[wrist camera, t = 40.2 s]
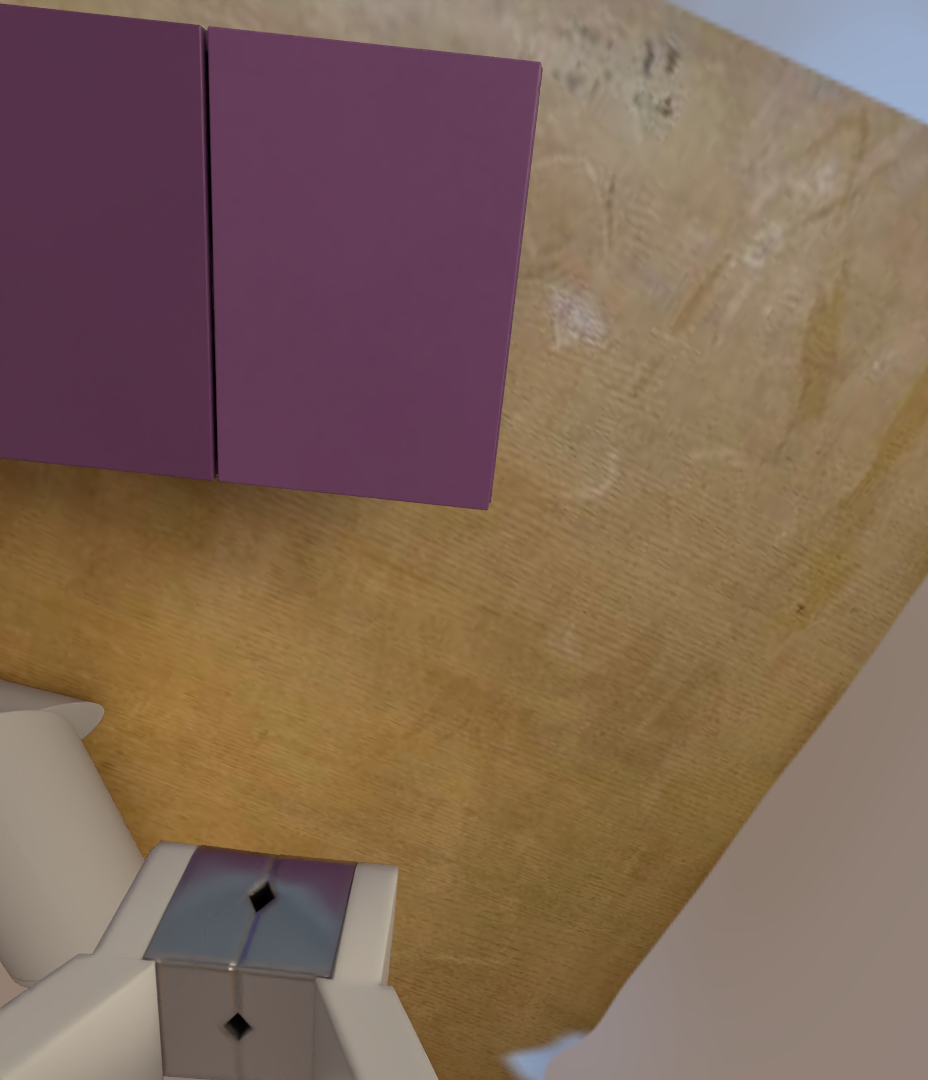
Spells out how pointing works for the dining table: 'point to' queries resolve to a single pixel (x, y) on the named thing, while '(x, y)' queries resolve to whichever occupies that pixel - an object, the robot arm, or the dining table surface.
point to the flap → (364, 262)
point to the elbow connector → (55, 835)
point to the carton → (109, 244)
